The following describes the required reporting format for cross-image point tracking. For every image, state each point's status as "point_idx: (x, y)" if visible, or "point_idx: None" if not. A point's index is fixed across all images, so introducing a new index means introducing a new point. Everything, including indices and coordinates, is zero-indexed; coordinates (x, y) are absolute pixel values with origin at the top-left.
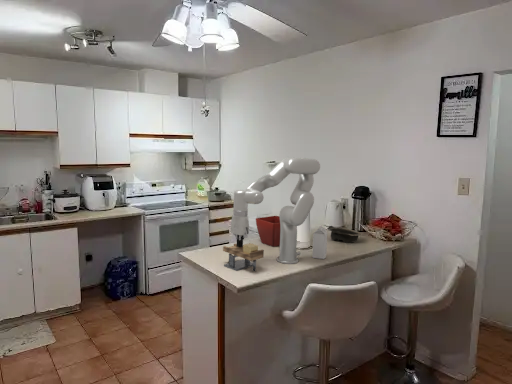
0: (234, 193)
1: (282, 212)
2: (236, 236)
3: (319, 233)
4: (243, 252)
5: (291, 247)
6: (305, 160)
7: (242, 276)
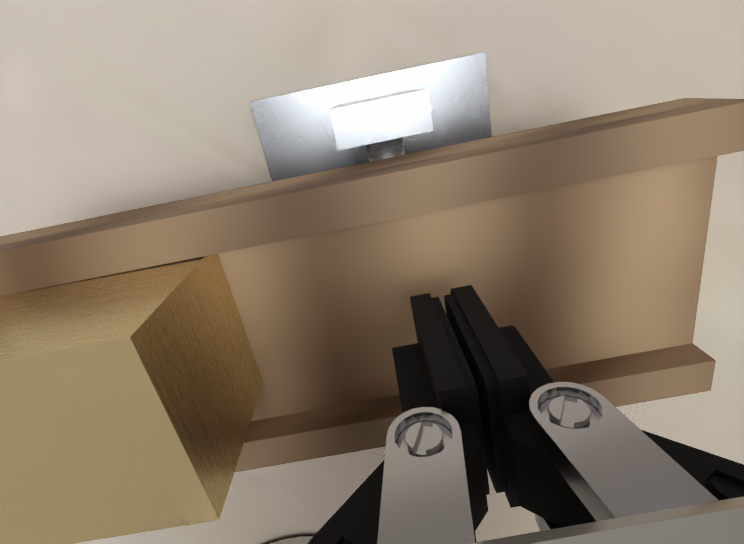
0: None
1: None
2: (612, 457)
3: None
4: (182, 257)
5: None
6: None
7: (52, 61)
